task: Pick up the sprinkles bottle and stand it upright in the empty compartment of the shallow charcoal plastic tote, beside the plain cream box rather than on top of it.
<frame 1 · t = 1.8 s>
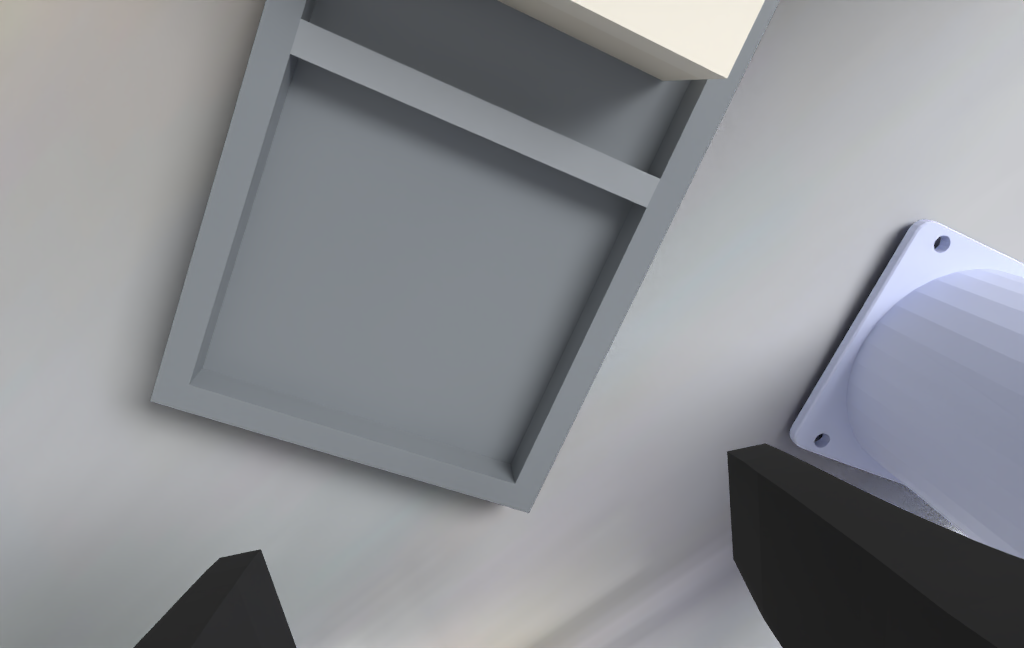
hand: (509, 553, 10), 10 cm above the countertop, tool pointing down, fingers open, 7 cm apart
tote: (481, 117, 18), on the countertop
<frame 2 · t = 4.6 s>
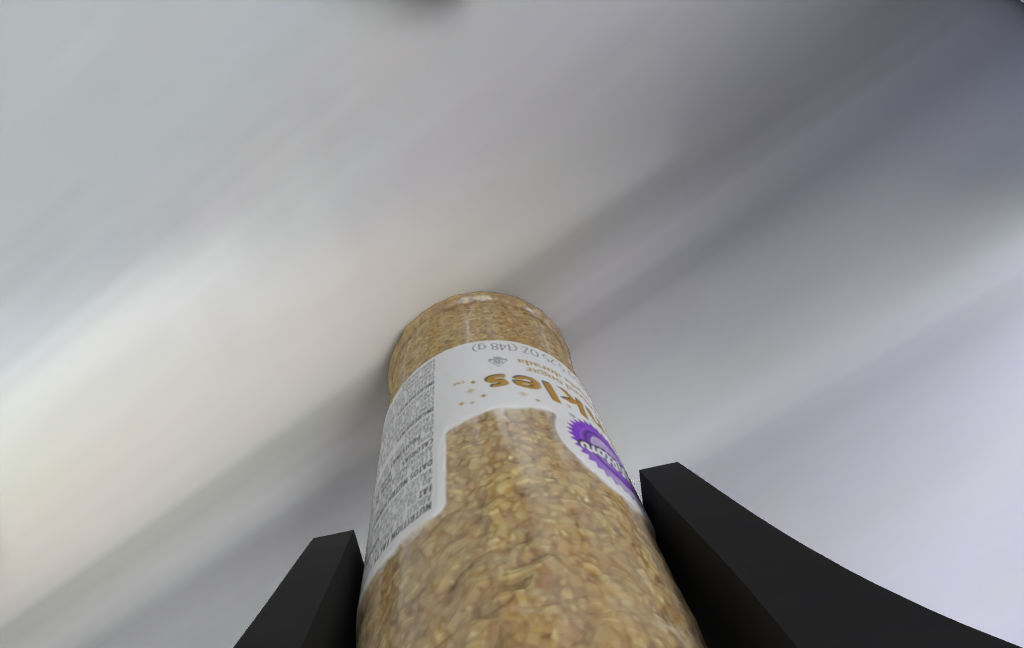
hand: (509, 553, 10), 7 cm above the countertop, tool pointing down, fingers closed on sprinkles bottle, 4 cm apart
sprinkles bottle: (477, 369, 17), on the countertop, touching gripper
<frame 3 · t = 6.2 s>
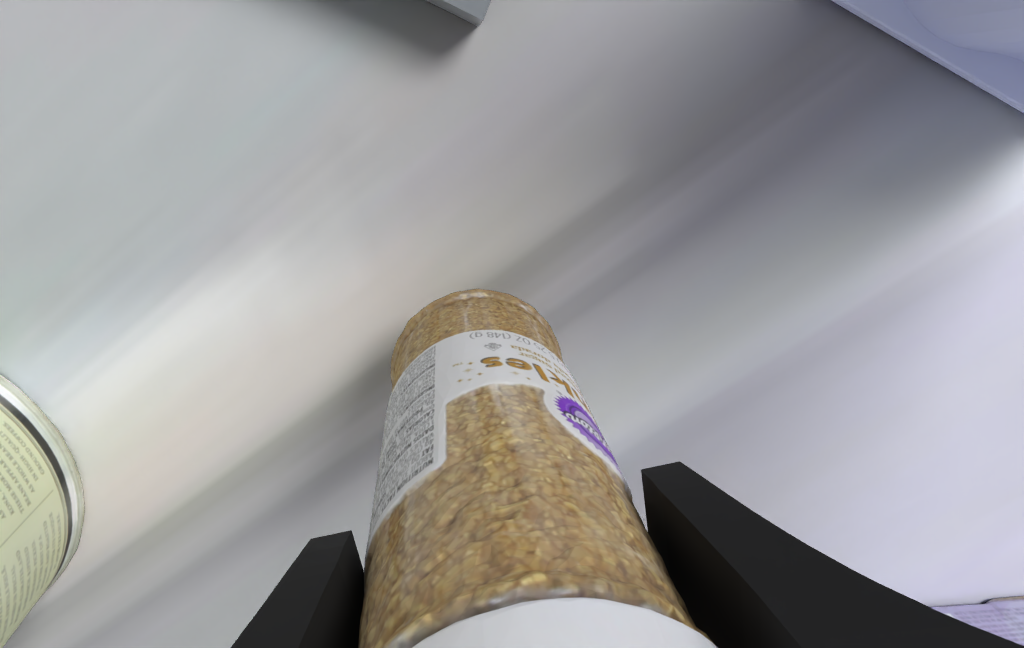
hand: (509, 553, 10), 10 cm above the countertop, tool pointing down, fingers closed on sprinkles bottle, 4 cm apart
cake pan box: (1003, 636, 27), on the countertop
sprinkles bottle: (474, 363, 18), point 2 cm above the countertop, touching gripper
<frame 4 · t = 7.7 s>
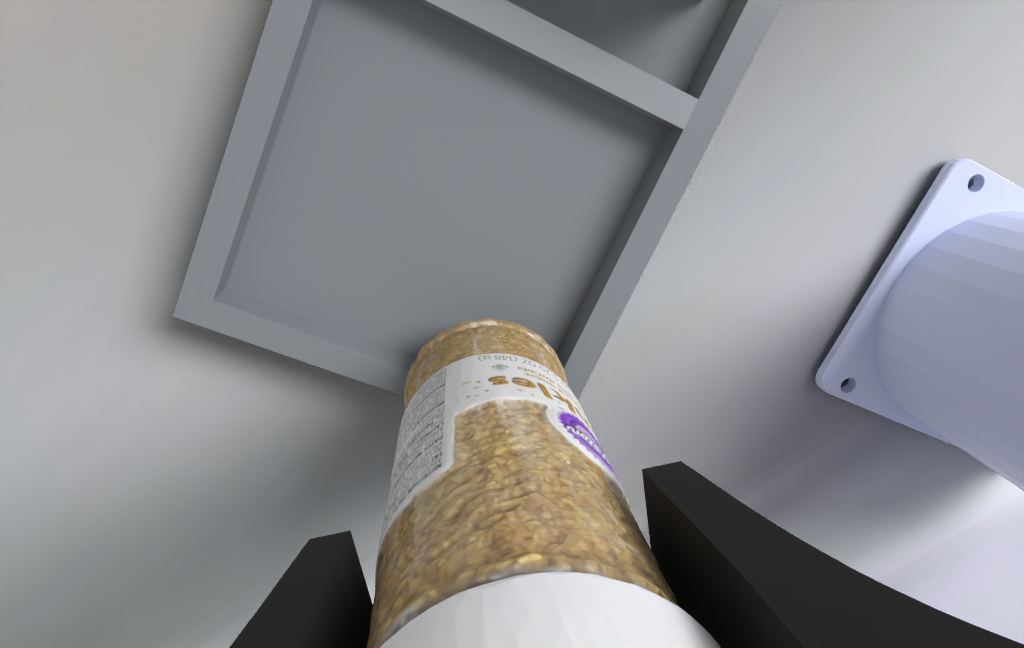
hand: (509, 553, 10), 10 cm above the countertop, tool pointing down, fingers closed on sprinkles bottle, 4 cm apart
tote: (517, 35, 17), on the countertop
sprinkles bottle: (483, 390, 19), point 2 cm above the countertop, touching gripper
when the fingers open (9 cm above the countertop, at t = 9.7 s): sprinkles bottle stays where it is, resting on tote.
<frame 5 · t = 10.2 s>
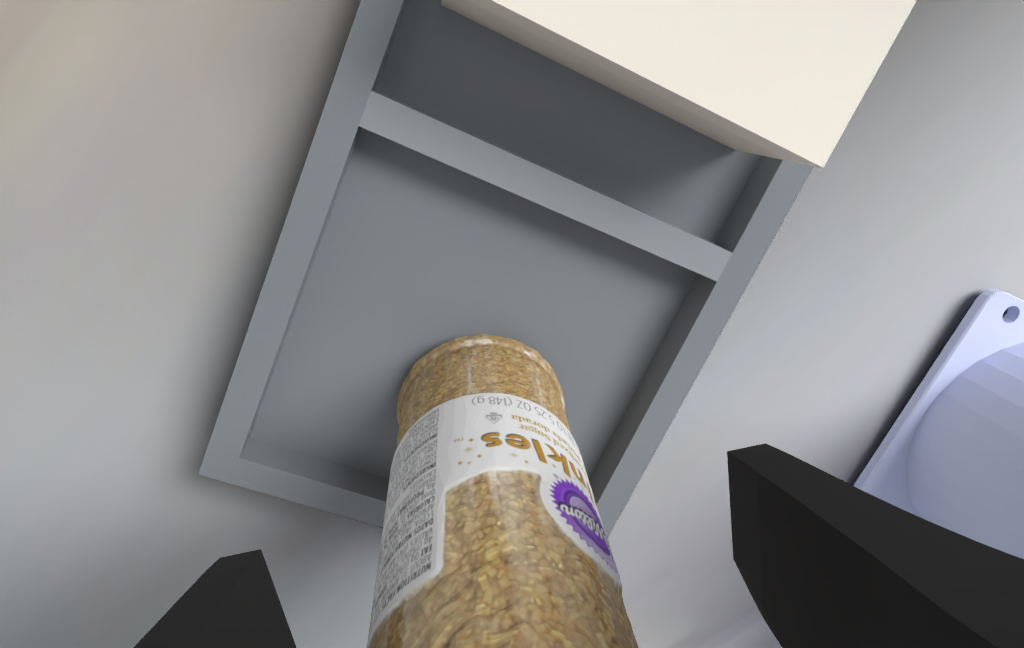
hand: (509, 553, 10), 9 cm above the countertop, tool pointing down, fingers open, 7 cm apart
tote: (546, 184, 17), on the countertop
sprinkles bottle: (478, 400, 18), resting on tote
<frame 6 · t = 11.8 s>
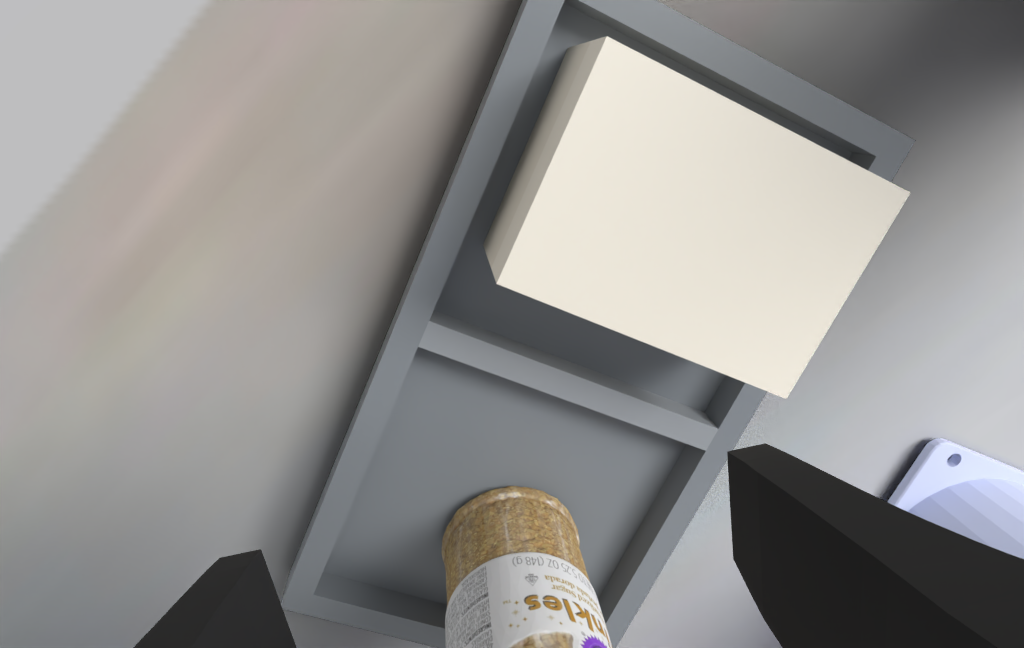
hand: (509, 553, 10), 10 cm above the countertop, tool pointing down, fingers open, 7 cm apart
tote: (565, 368, 21), on the countertop
sprinkles bottle: (507, 535, 22), resting on tote
plain cream box: (651, 208, 19), resting on tote
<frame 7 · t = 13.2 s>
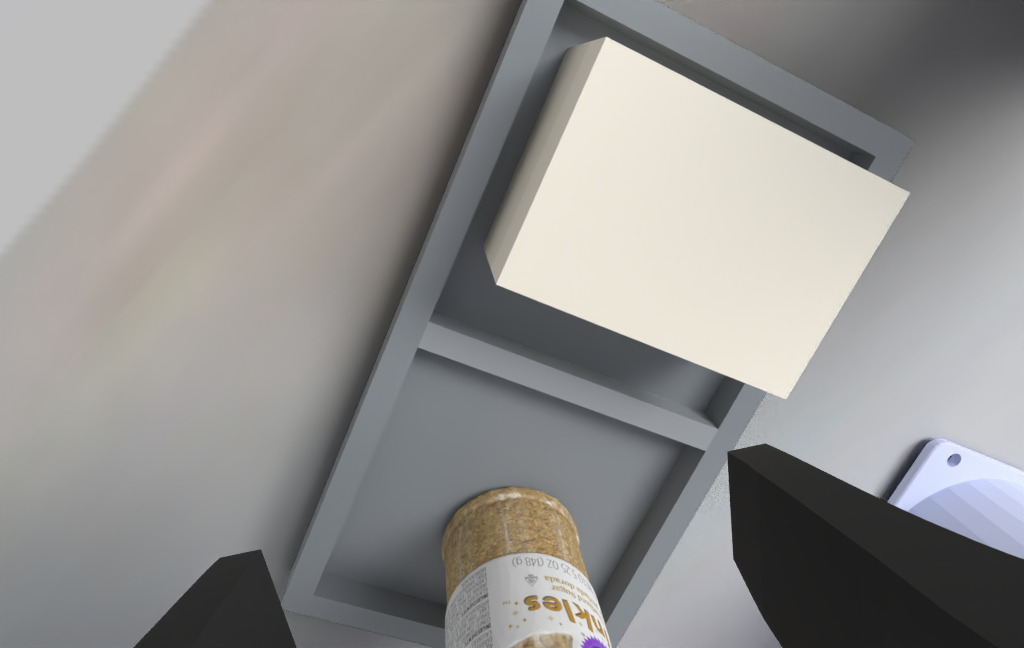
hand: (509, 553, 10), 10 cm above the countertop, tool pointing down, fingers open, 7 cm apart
tote: (565, 368, 21), on the countertop
sprinkles bottle: (507, 535, 22), resting on tote
plain cream box: (651, 208, 19), resting on tote
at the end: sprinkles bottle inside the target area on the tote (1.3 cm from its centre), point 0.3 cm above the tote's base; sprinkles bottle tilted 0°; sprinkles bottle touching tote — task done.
